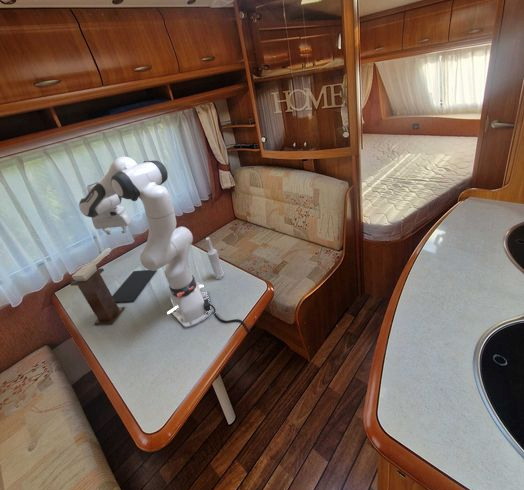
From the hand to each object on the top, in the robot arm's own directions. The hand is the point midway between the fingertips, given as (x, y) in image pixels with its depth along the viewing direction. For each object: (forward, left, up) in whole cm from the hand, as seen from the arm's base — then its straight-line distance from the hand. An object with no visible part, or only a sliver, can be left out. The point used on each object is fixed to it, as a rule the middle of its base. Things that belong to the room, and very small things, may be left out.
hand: (116, 233), depth 149 cm
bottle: (-36, -39, -32) cm, 62 cm away
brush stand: (-22, +17, -32) cm, 43 cm away
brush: (-16, +13, -6) cm, 22 cm away
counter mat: (-5, +3, -32) cm, 33 cm away
